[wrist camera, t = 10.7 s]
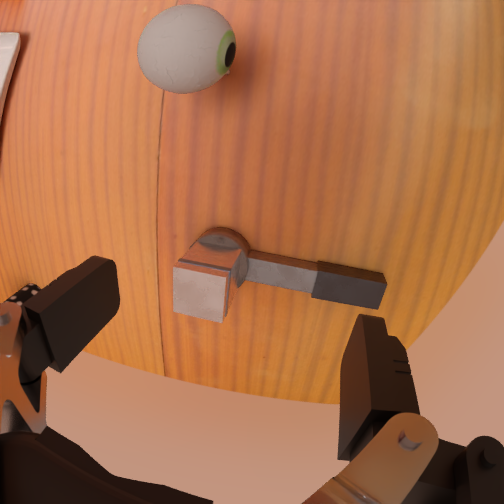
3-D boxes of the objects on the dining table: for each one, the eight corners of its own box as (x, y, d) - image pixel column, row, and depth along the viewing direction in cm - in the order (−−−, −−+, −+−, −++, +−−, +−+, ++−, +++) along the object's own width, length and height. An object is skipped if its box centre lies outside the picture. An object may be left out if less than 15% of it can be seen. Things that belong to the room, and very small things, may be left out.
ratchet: (387, 259, 33) (401, 289, 27) (369, 310, 36) (378, 345, 30) (197, 222, 36) (172, 244, 30) (193, 274, 39) (172, 303, 32)
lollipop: (251, 109, 30) (203, 96, 16) (188, 96, 30) (107, 85, 17) (267, 47, 27) (233, -8, 13) (204, 38, 27) (134, -8, 14)
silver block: (242, 249, 33) (226, 277, 27) (237, 290, 35) (222, 323, 29) (196, 240, 34) (172, 266, 28) (194, 281, 36) (173, 311, 30)
